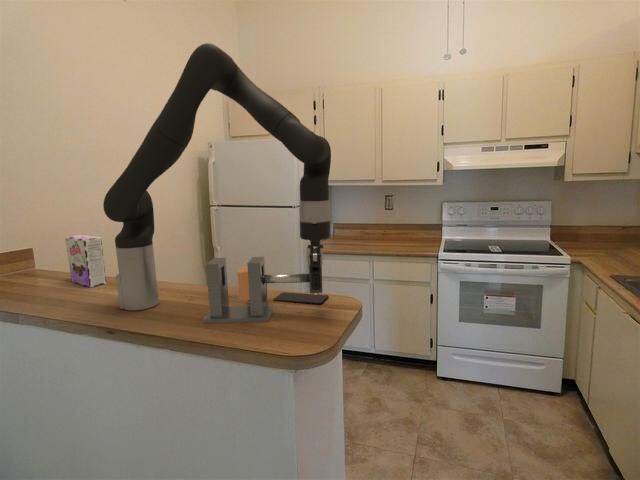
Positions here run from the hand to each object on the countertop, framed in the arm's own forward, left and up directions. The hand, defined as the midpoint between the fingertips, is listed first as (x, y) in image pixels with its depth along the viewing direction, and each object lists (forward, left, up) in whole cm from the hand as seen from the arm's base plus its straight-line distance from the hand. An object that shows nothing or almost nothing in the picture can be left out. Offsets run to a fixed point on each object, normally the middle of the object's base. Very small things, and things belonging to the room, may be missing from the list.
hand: (316, 286), depth 97 cm
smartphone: (-5, +12, -8) cm, 15 cm away
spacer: (-18, 0, +2) cm, 18 cm away
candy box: (-80, +35, -7) cm, 87 cm away
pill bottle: (-17, +10, -7) cm, 21 cm away
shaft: (-7, 0, -1) cm, 8 cm away
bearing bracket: (-20, 0, -7) cm, 21 cm away
